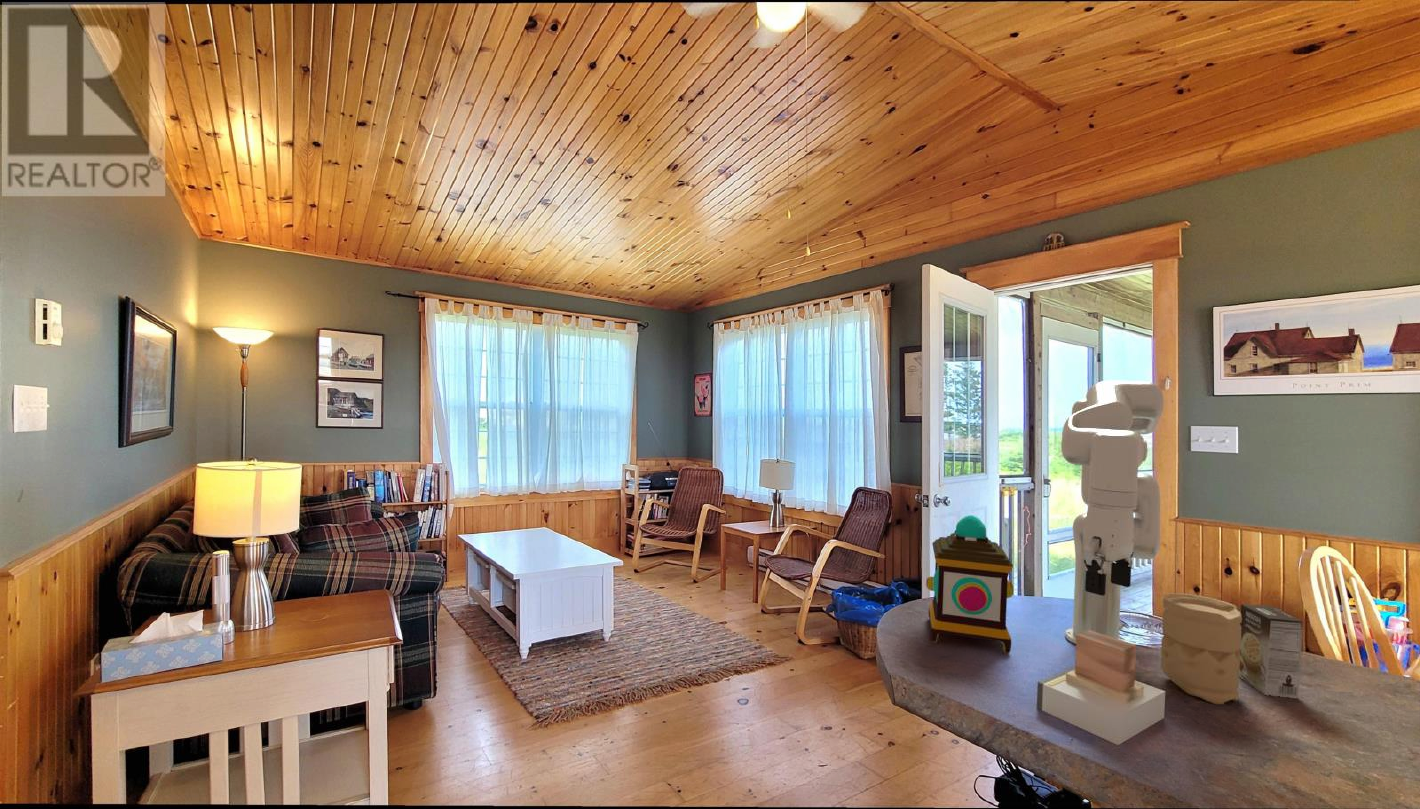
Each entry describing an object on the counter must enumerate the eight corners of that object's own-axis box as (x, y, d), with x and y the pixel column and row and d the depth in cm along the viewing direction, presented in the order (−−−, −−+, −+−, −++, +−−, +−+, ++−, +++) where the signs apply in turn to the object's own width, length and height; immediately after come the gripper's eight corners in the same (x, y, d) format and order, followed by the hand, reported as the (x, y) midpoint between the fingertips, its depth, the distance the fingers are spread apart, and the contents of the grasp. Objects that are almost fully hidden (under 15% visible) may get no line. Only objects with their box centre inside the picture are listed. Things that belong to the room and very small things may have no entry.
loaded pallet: (1085, 672, 119) (1087, 627, 119) (1143, 694, 111) (1145, 645, 111) (1065, 680, 115) (1067, 634, 115) (1124, 704, 107) (1126, 654, 107)
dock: (1084, 685, 124) (1085, 661, 124) (1164, 717, 113) (1165, 690, 112) (1036, 707, 115) (1037, 681, 115) (1118, 745, 103) (1119, 715, 103)
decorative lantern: (923, 616, 162) (927, 505, 162) (1004, 627, 156) (1009, 511, 155) (925, 644, 143) (930, 518, 143) (1018, 658, 137) (1023, 527, 136)
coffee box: (1235, 675, 132) (1238, 602, 132) (1269, 679, 131) (1272, 605, 130) (1264, 695, 123) (1268, 617, 123) (1301, 699, 122) (1305, 620, 121)
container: (1245, 693, 123) (1249, 606, 123) (1228, 711, 116) (1232, 618, 116) (1170, 670, 133) (1174, 589, 133) (1150, 685, 126) (1154, 599, 125)
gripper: (1112, 492, 120) (1108, 576, 121) (1067, 498, 111) (1063, 590, 112) (1155, 498, 114) (1151, 587, 115) (1111, 506, 105) (1107, 603, 105)
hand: (1107, 589), depth 113 cm, fingers open, 9 cm apart
